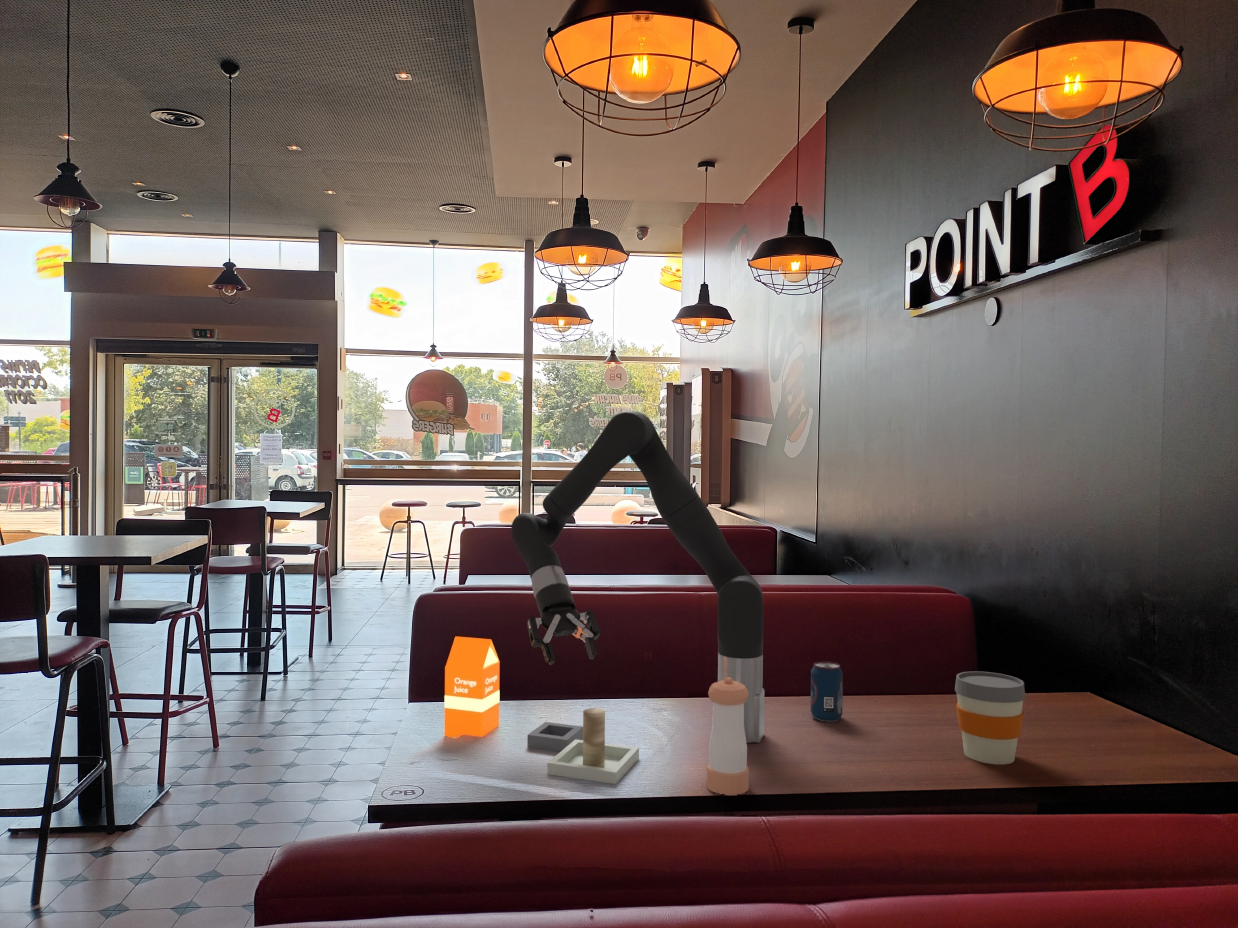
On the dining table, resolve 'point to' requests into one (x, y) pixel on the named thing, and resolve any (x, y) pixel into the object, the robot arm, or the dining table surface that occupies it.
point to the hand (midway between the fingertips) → (573, 659)
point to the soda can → (826, 691)
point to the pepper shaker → (728, 739)
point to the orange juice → (471, 688)
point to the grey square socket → (554, 736)
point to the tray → (572, 766)
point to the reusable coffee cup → (989, 715)
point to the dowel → (594, 737)
